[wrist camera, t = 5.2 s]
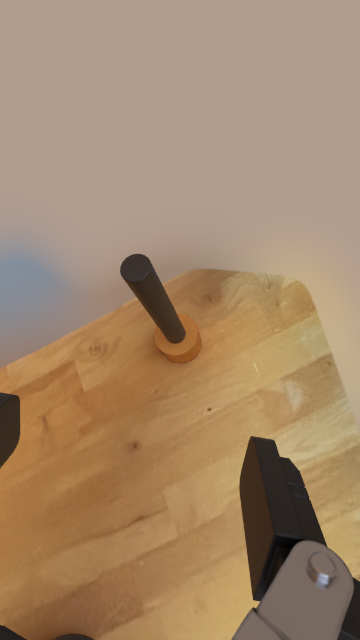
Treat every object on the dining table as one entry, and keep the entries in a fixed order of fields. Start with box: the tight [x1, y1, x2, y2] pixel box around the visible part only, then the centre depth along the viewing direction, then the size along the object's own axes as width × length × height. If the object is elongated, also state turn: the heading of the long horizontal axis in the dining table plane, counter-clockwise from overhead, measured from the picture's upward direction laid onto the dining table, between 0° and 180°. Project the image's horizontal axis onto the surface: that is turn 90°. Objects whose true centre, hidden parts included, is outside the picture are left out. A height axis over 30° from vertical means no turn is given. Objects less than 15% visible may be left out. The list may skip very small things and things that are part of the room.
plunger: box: [120, 254, 201, 363], centre depth 31 cm, size 5×5×18 cm
